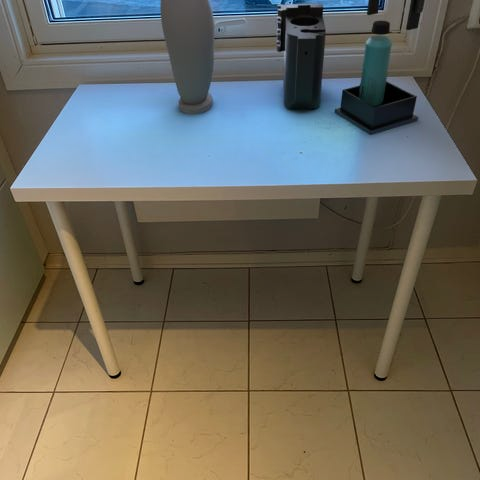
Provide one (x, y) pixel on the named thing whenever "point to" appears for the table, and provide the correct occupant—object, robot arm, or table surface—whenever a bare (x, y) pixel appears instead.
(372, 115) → the square planter
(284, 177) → the table surface
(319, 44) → the black machined bracket
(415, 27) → the robot arm
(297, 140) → the table surface
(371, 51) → the beverage bottle
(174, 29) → the vase
